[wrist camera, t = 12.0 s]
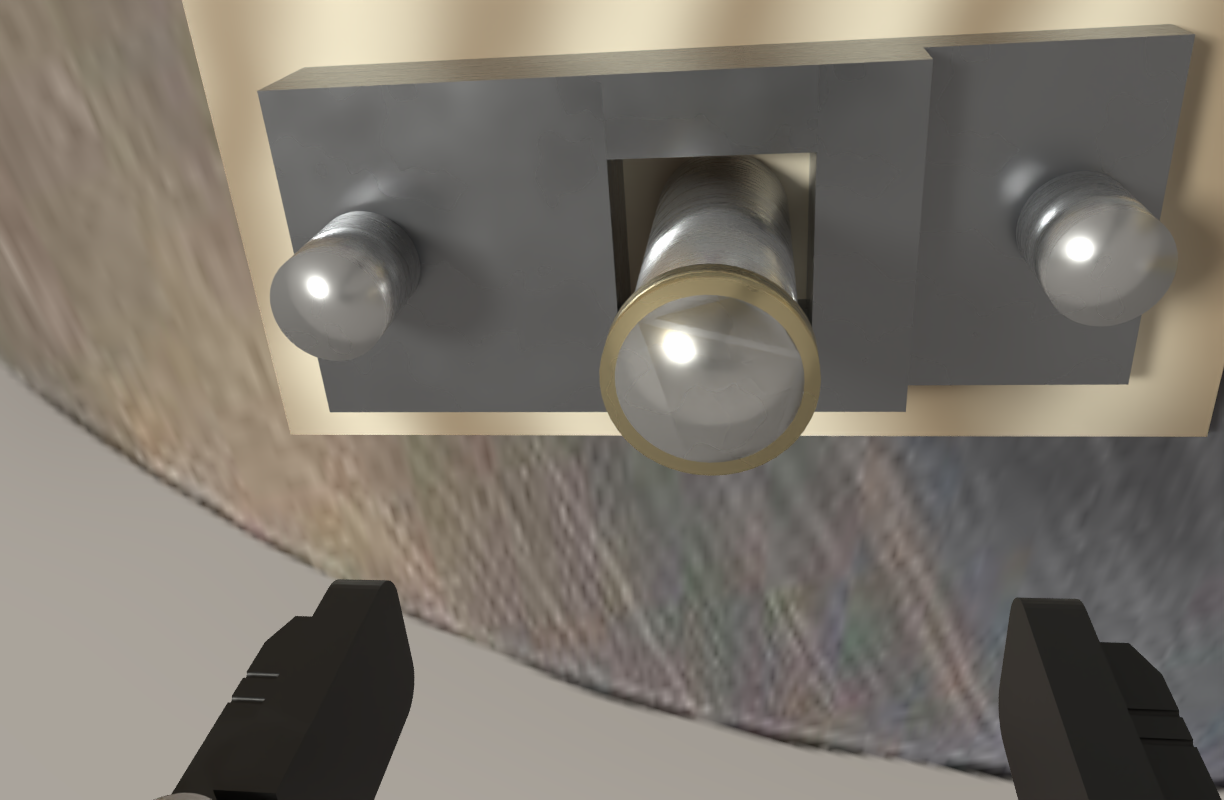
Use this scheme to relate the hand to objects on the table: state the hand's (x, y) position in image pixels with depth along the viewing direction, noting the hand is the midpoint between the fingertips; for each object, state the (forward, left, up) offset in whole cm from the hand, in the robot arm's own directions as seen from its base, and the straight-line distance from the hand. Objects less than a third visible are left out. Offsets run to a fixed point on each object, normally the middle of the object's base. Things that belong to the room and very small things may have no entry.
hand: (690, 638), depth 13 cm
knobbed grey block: (0, 0, -18) cm, 18 cm away
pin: (0, 0, -17) cm, 17 cm away
